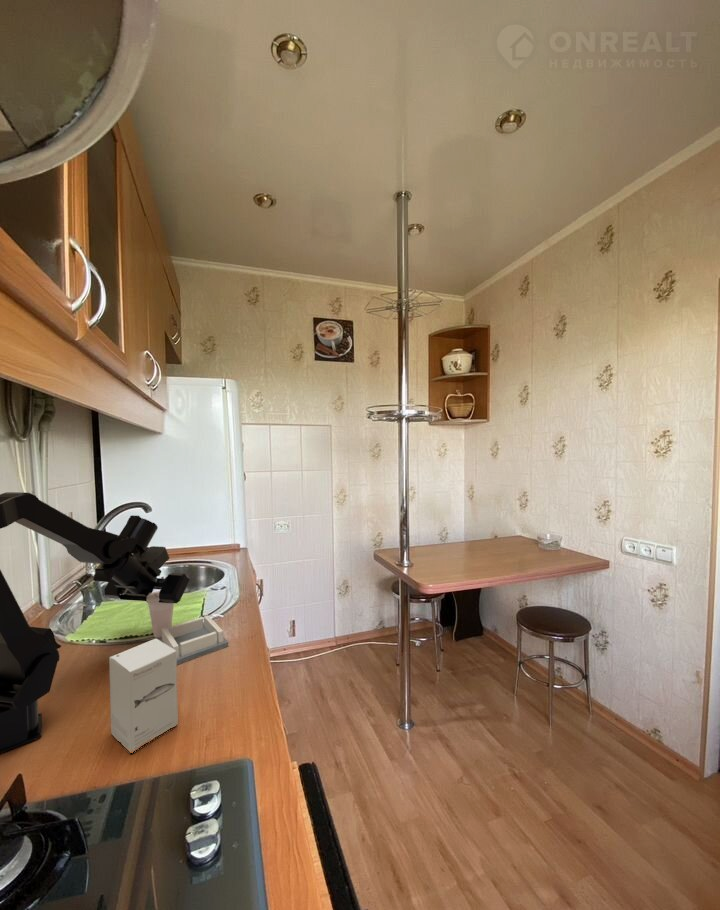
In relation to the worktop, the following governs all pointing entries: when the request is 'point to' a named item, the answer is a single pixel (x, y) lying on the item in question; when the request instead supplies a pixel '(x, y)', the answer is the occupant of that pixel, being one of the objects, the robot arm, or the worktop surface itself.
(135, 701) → the supplement box
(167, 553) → the robot arm
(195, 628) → the bottle holder
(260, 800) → the worktop surface
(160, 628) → the smoothie
